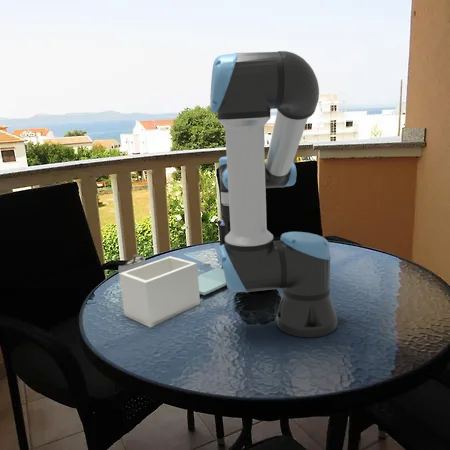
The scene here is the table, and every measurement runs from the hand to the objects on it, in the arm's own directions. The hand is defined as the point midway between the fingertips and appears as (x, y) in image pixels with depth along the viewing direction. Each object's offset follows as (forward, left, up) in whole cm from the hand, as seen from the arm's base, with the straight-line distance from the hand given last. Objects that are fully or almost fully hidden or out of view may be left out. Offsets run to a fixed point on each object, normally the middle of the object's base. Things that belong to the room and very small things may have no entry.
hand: (236, 270), depth 141 cm
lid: (0, +9, 0) cm, 9 cm away
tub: (-1, +33, -2) cm, 33 cm away
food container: (+18, +28, -2) cm, 33 cm away
